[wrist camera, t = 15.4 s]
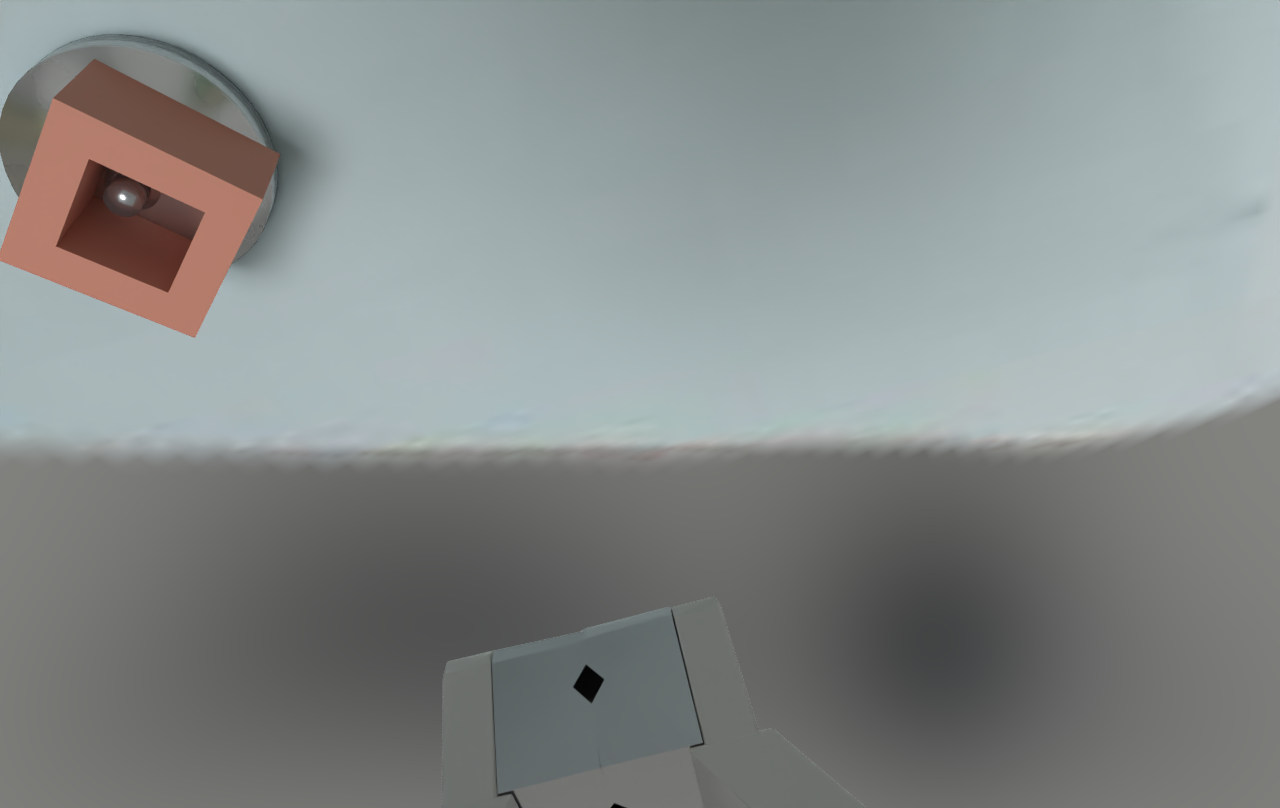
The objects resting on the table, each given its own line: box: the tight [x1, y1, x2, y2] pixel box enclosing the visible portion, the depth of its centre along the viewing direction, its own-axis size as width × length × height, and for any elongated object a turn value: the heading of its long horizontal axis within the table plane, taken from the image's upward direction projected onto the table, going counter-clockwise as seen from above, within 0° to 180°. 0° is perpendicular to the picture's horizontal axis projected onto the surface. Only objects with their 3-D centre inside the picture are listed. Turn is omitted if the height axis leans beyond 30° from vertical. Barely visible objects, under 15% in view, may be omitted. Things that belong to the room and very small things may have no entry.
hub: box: [0, 35, 278, 264], centre depth 32 cm, size 9×9×4 cm
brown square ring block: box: [0, 59, 280, 338], centre depth 31 cm, size 6×6×4 cm
